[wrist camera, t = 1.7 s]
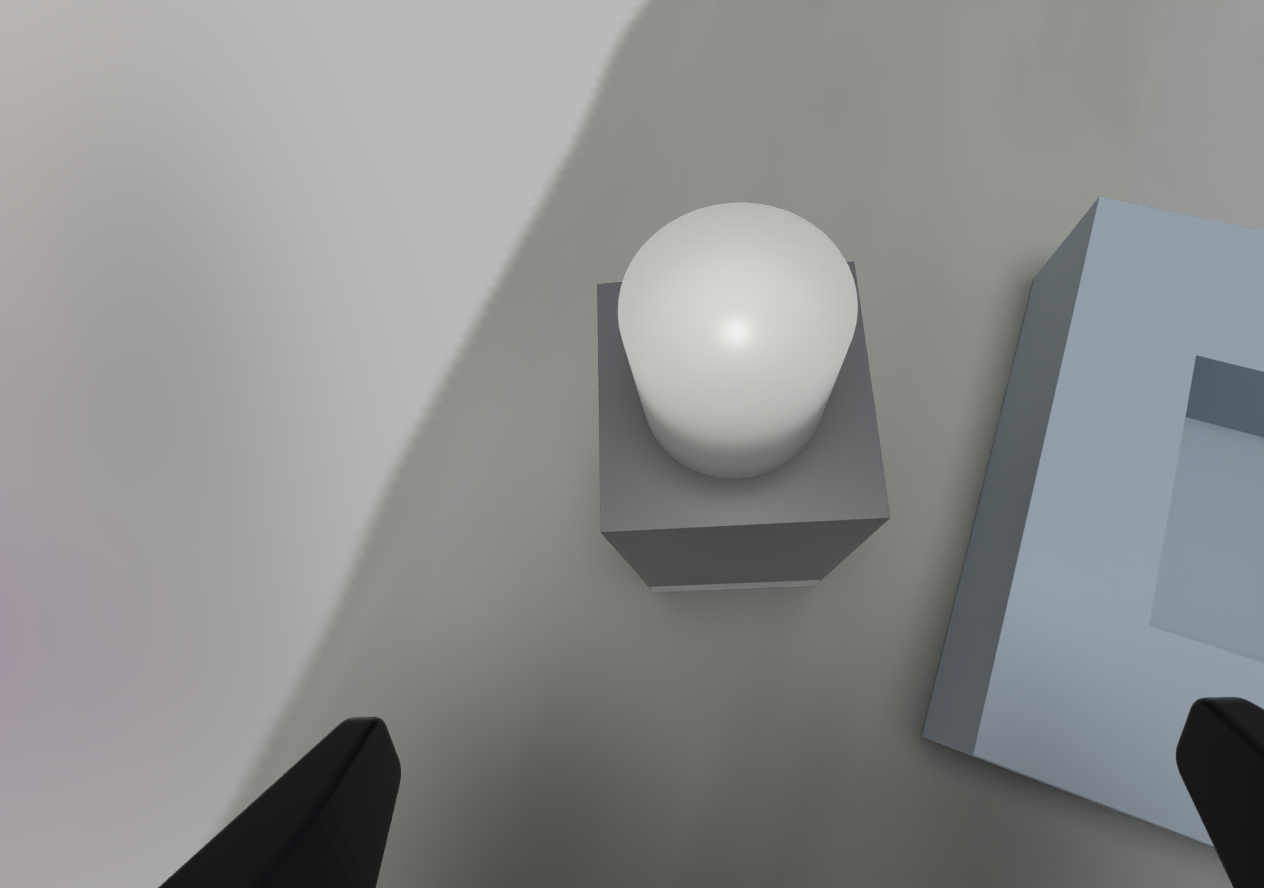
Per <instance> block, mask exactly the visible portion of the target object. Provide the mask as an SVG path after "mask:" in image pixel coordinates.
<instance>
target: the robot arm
mask: <svg viewBox="0 0 1264 888" xmlns="http://www.w3.org/2000/svg"><path fill="white" fill-rule="evenodd" d="M1176 763H1177V767H1178V770H1179V773H1180V775H1181V778H1182V780H1183V782H1184V784H1185V786H1186V788H1187V790H1188V793H1189V795H1190V797H1191V799H1192V801H1193V803H1194V805H1195V807H1196V809H1197V812H1198V814H1199V816H1200V818H1201V820H1202V822H1203V824H1204V826H1205V829H1206V831H1207V833H1208V835H1209V837H1210V839H1211V841H1212V843H1213V846H1214V848H1215V850H1216V852H1217V854H1218V856H1219V858H1220V860H1221V862H1222V865H1223V867H1224V869H1225V871H1226V873H1227V875H1228V877H1229V879H1230V882H1231V884H1232V886H1233V888H1264V709H1262V708H1261V707H1259V706H1257V705H1256V704H1254V703H1252V702H1250V701H1248V700H1246V699H1243V698H1239V697H1204V698H1199V699H1198V700H1196V701H1195V702H1194V703H1193V704H1192V706H1191V708H1190V711H1189V714H1188V716H1187V719H1186V722H1185V725H1184V728H1183V730H1182V733H1181V736H1180V739H1179V741H1178V744H1177V748H1176ZM400 779H401V767H400V761H399V758H398V756H397V753H396V750H395V748H394V745H393V742H392V740H391V737H390V735H389V732H388V729H387V727H386V724H385V722H384V721H383V720H382V719H380V718H378V717H354V718H349V719H346V720H345V721H343V722H342V723H340V724H339V725H338V726H337V727H336V728H335V729H333V730H332V731H331V732H330V733H329V734H328V735H327V736H326V737H325V738H324V739H322V740H321V741H320V742H319V743H318V744H317V745H316V746H315V747H314V748H312V749H311V750H310V751H309V752H308V753H307V754H306V755H305V756H304V757H302V758H301V759H300V760H299V761H298V762H297V763H296V764H295V765H294V766H293V767H291V768H290V769H289V770H288V771H287V772H286V773H285V774H284V775H283V776H281V777H280V778H279V779H278V780H277V781H276V782H275V783H274V784H273V785H271V786H270V787H269V788H268V789H267V790H266V791H265V792H264V793H263V794H262V795H260V796H259V797H258V798H257V799H256V800H255V801H254V802H253V803H252V804H250V805H249V806H248V807H247V808H246V809H245V810H244V811H243V812H242V813H240V814H239V815H238V816H237V817H236V818H235V819H234V820H233V821H232V822H230V823H229V824H228V825H227V826H226V827H225V828H224V829H223V830H222V831H221V832H219V833H218V834H217V835H216V836H215V837H214V838H213V839H212V840H211V841H209V842H208V843H207V844H206V845H205V846H204V847H203V848H202V849H201V850H199V851H198V852H197V853H196V854H195V855H194V856H193V857H192V858H191V859H190V860H188V861H187V862H186V863H185V864H184V865H183V866H182V867H181V868H180V869H178V870H177V871H176V872H175V873H174V874H173V875H172V876H171V877H170V878H168V879H167V880H166V881H165V882H164V883H163V884H162V885H161V886H160V887H158V888H376V884H377V880H378V876H379V871H380V867H381V863H382V859H383V854H384V850H385V846H386V841H387V837H388V833H389V828H390V824H391V820H392V815H393V811H394V807H395V802H396V798H397V794H398V790H399V785H400Z"/></svg>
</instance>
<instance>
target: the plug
mask: <svg viewBox="0 0 1264 888" xmlns="http://www.w3.org/2000/svg"><path fill="white" fill-rule="evenodd" d="M597 309H598V381H599V454H600V527H601V533H602V534H603V535H604V537H605V538H606V539H607V540H608V541H609V542H610V543H611V544H612V545H613V547H614V548H615V549H616V550H617V551H618V552H619V553H620V554H621V556H622V557H623V558H624V559H625V560H626V561H627V562H628V563H629V565H630V566H631V567H632V568H633V569H634V570H635V571H636V572H637V574H638V575H639V576H640V577H641V578H642V579H643V580H644V581H645V583H646V584H647V585H648V586H649V587H650V588H651V589H652V590H653V591H654V593H658V592H682V591H707V590H732V589H756V588H781V587H806V586H815V585H816V584H817V583H818V582H819V581H821V580H822V579H823V578H824V577H825V576H826V575H827V574H828V573H829V572H831V571H832V570H833V569H834V568H835V567H836V566H837V565H838V564H839V563H841V562H842V561H843V560H844V559H845V558H846V557H847V556H848V555H849V554H851V553H852V552H853V551H854V550H855V549H856V548H857V547H858V546H859V545H860V544H862V543H863V542H864V541H865V540H866V539H867V538H868V537H869V536H870V535H872V534H873V533H874V532H875V531H876V530H877V529H878V528H879V527H880V526H882V525H883V524H884V523H885V522H886V521H887V520H888V519H889V518H890V512H889V505H888V498H887V491H886V484H885V477H884V470H883V463H882V455H881V448H880V441H879V434H878V427H877V420H876V413H875V406H874V399H873V392H872V385H871V378H870V370H869V363H868V356H867V349H866V342H865V335H864V328H863V321H862V314H861V307H860V300H859V293H858V286H857V278H856V271H855V264H854V262H846V260H845V259H844V257H843V255H842V253H841V252H840V251H839V249H838V248H837V247H836V246H835V244H834V243H833V242H832V241H831V240H830V239H829V238H828V237H827V236H826V235H825V234H824V233H823V232H822V231H821V230H819V229H818V228H817V227H815V226H814V225H813V224H811V223H810V222H808V221H806V220H805V219H803V218H801V217H799V216H797V215H795V214H793V213H790V212H788V211H786V210H782V209H779V208H776V207H772V206H768V205H762V204H756V203H725V204H719V205H712V206H709V207H705V208H701V209H698V210H695V211H693V212H690V213H687V214H685V215H683V216H681V217H679V218H677V219H675V220H673V221H672V222H670V223H669V224H667V225H666V226H664V227H663V228H661V229H660V230H659V231H658V232H656V233H655V234H654V235H653V236H652V237H651V238H650V239H649V240H648V241H647V242H646V243H645V244H644V245H643V246H642V248H641V249H640V250H639V251H638V253H637V254H636V256H635V257H634V259H633V260H632V262H631V264H630V266H629V268H628V270H627V271H626V273H625V276H624V279H623V282H617V283H605V284H597Z"/></svg>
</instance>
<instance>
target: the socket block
mask: <svg viewBox="0 0 1264 888" xmlns="http://www.w3.org/2000/svg"><path fill="white" fill-rule="evenodd" d="M1204 697H1239V698H1243V699H1246V700H1248V701H1250V702H1252V703H1254V704H1256V705H1257V706H1259V707H1261V708H1262V709H1264V231H1262V230H1257V229H1253V228H1248V227H1243V226H1238V225H1233V224H1229V223H1224V222H1219V221H1214V220H1209V219H1205V218H1200V217H1195V216H1190V215H1186V214H1181V213H1176V212H1171V211H1166V210H1162V209H1157V208H1152V207H1147V206H1142V205H1138V204H1133V203H1128V202H1123V201H1118V200H1114V199H1109V198H1104V197H1099V198H1098V199H1097V200H1096V202H1095V203H1094V204H1093V205H1092V207H1091V208H1090V209H1089V210H1088V212H1087V213H1086V214H1085V215H1084V217H1083V218H1082V219H1081V220H1080V222H1079V223H1078V224H1077V225H1076V227H1075V228H1074V229H1073V230H1072V232H1071V233H1070V234H1069V235H1068V237H1067V238H1066V239H1065V240H1064V242H1063V243H1062V244H1061V245H1060V247H1059V248H1058V249H1057V250H1056V252H1055V253H1054V254H1053V255H1052V257H1051V258H1050V259H1049V260H1048V262H1047V263H1046V264H1045V265H1044V267H1043V268H1042V269H1041V270H1040V272H1039V273H1038V274H1037V275H1036V277H1035V278H1034V280H1033V284H1032V289H1031V293H1030V297H1029V301H1028V305H1027V309H1026V313H1025V317H1024V321H1023V325H1022V329H1021V333H1020V338H1019V342H1018V346H1017V350H1016V354H1015V358H1014V362H1013V366H1012V370H1011V374H1010V378H1009V382H1008V386H1007V391H1006V395H1005V399H1004V403H1003V407H1002V411H1001V415H1000V419H999V423H998V427H997V431H996V435H995V439H994V444H993V448H992V452H991V456H990V460H989V464H988V468H987V472H986V476H985V480H984V484H983V488H982V493H981V497H980V501H979V505H978V509H977V513H976V517H975V521H974V525H973V529H972V533H971V537H970V541H969V546H968V550H967V554H966V558H965V562H964V566H963V570H962V574H961V578H960V582H959V586H958V590H957V594H956V599H955V603H954V607H953V611H952V615H951V619H950V623H949V627H948V631H947V635H946V639H945V643H944V648H943V652H942V656H941V660H940V664H939V668H938V672H937V676H936V680H935V684H934V688H933V692H932V696H931V701H930V705H929V709H928V713H927V717H926V721H925V725H924V729H923V733H922V737H923V738H925V739H928V740H931V741H933V742H936V743H939V744H941V745H944V746H946V747H949V748H952V749H954V750H957V751H960V752H962V753H965V754H968V755H970V756H973V757H975V758H978V759H981V760H983V761H986V762H989V763H991V764H994V765H996V766H999V767H1002V768H1004V769H1007V770H1010V771H1012V772H1015V773H1018V774H1020V775H1023V776H1025V777H1028V778H1031V779H1033V780H1036V781H1039V782H1041V783H1044V784H1046V785H1049V786H1052V787H1054V788H1057V789H1060V790H1062V791H1065V792H1068V793H1070V794H1073V795H1075V796H1078V797H1081V798H1083V799H1086V800H1089V801H1091V802H1094V803H1096V804H1099V805H1102V806H1104V807H1107V808H1110V809H1112V810H1115V811H1118V812H1120V813H1123V814H1125V815H1128V816H1131V817H1133V818H1136V819H1139V820H1141V821H1144V822H1146V823H1149V824H1152V825H1154V826H1157V827H1160V828H1162V829H1165V830H1167V831H1170V832H1173V833H1175V834H1178V835H1181V836H1183V837H1186V838H1189V839H1191V840H1194V841H1196V842H1199V843H1202V844H1204V845H1207V846H1210V847H1212V848H1214V846H1213V843H1212V841H1211V839H1210V837H1209V835H1208V833H1207V831H1206V829H1205V826H1204V824H1203V822H1202V820H1201V818H1200V816H1199V814H1198V812H1197V809H1196V807H1195V805H1194V803H1193V801H1192V799H1191V797H1190V795H1189V793H1188V790H1187V788H1186V786H1185V784H1184V782H1183V780H1182V778H1181V775H1180V773H1179V770H1178V767H1177V763H1176V748H1177V744H1178V741H1179V739H1180V736H1181V733H1182V730H1183V728H1184V725H1185V722H1186V719H1187V716H1188V714H1189V711H1190V708H1191V706H1192V704H1193V703H1194V702H1195V701H1196V700H1198V699H1199V698H1204Z"/></svg>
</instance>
